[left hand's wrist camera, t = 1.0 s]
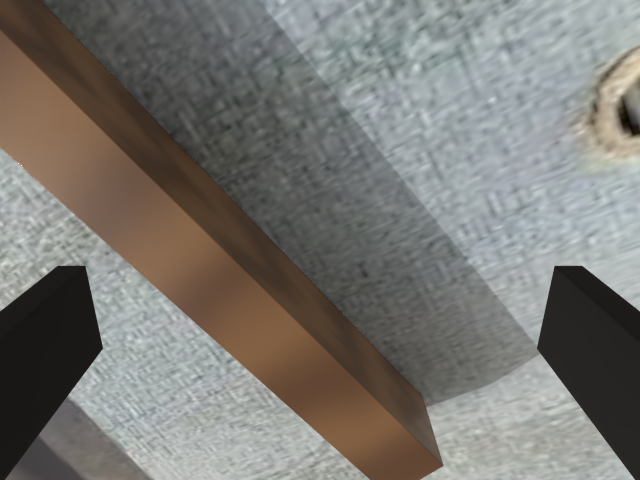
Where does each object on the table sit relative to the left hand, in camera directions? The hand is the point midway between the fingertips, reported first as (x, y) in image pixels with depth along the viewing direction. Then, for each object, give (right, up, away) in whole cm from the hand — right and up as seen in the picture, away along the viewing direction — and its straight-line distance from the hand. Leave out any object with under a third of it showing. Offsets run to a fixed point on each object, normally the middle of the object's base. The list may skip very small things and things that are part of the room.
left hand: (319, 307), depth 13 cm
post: (-13, +8, +22) cm, 27 cm away
